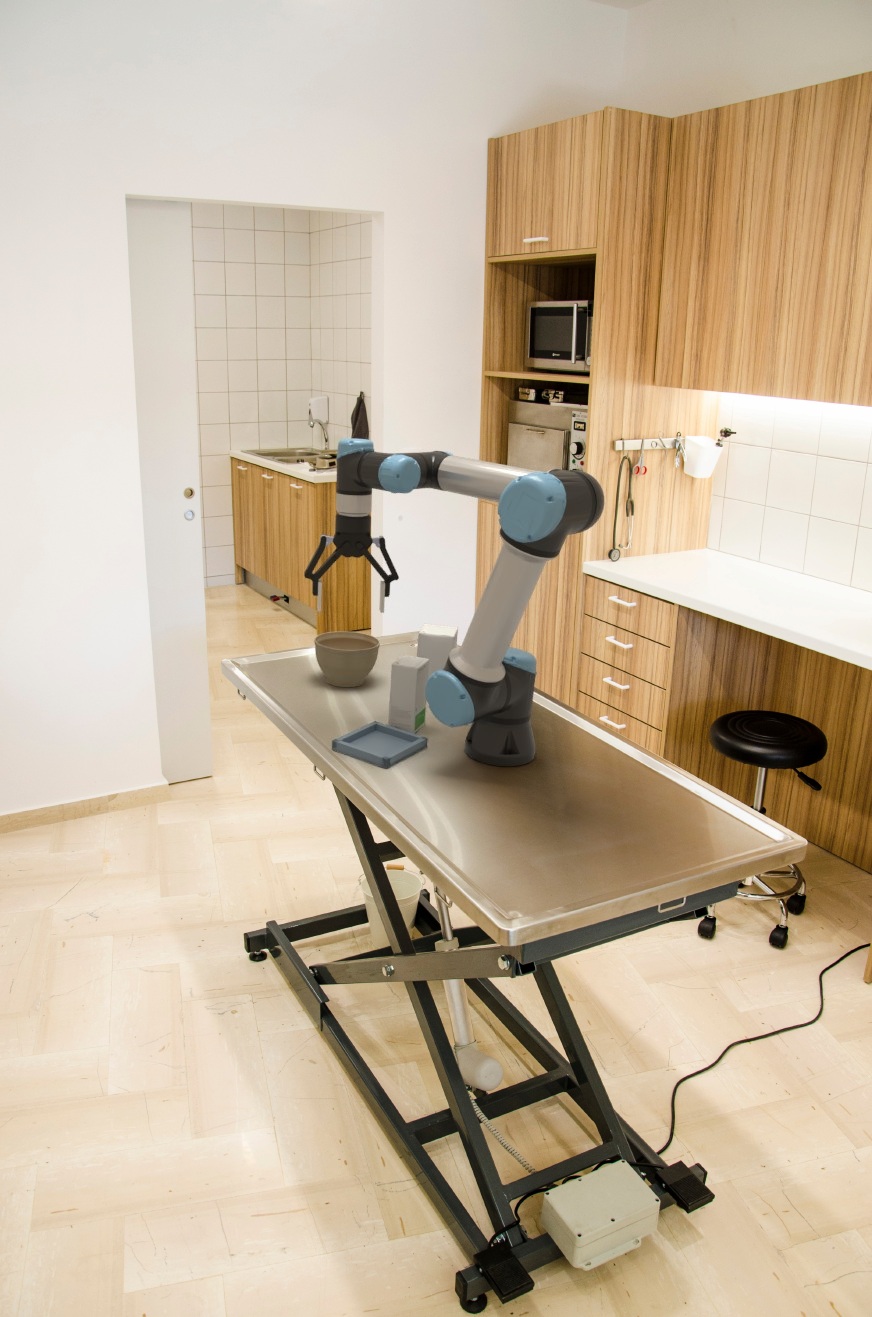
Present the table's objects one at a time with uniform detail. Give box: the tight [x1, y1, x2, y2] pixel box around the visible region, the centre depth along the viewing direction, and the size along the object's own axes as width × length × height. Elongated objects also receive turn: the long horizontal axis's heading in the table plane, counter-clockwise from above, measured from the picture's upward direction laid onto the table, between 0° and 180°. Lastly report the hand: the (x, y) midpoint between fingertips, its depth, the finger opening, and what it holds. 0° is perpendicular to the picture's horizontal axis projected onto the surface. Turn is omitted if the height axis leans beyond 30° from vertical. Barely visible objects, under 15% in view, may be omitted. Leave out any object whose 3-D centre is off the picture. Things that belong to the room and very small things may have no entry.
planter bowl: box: [313, 630, 381, 688], centre depth 245 cm, size 16×16×11 cm
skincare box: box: [387, 654, 429, 734], centre depth 219 cm, size 8×7×16 cm
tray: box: [331, 720, 429, 770], centre depth 208 cm, size 14×15×2 cm
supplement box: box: [416, 623, 459, 678], centre depth 246 cm, size 9×9×15 cm
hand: (350, 610), depth 215 cm, fingers open, 13 cm apart
